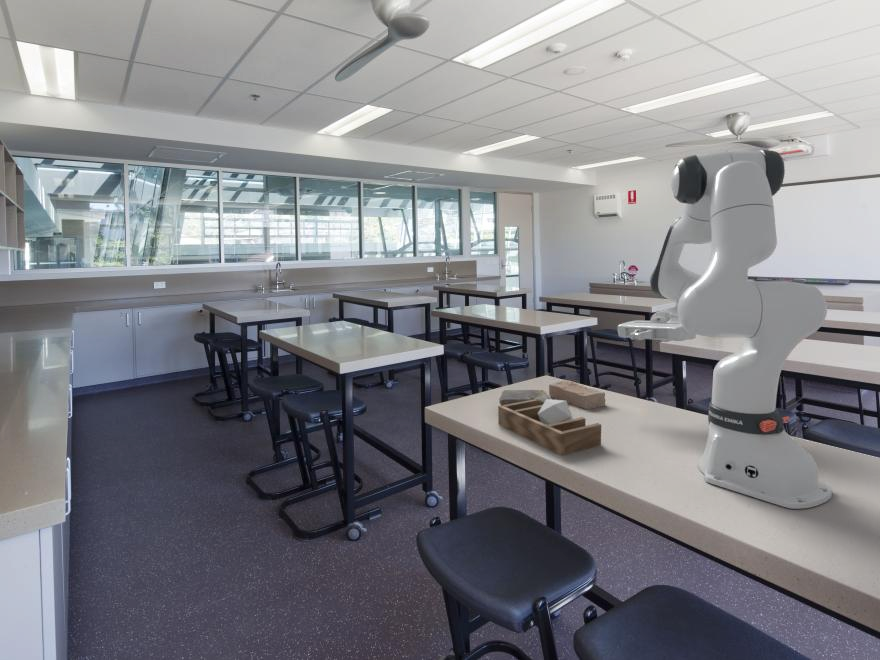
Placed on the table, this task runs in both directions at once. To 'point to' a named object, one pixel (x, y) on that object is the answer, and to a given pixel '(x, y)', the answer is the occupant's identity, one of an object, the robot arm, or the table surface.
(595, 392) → the brick
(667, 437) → the table surface
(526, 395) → the geological specimen
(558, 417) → the die
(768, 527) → the table surface
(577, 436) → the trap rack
